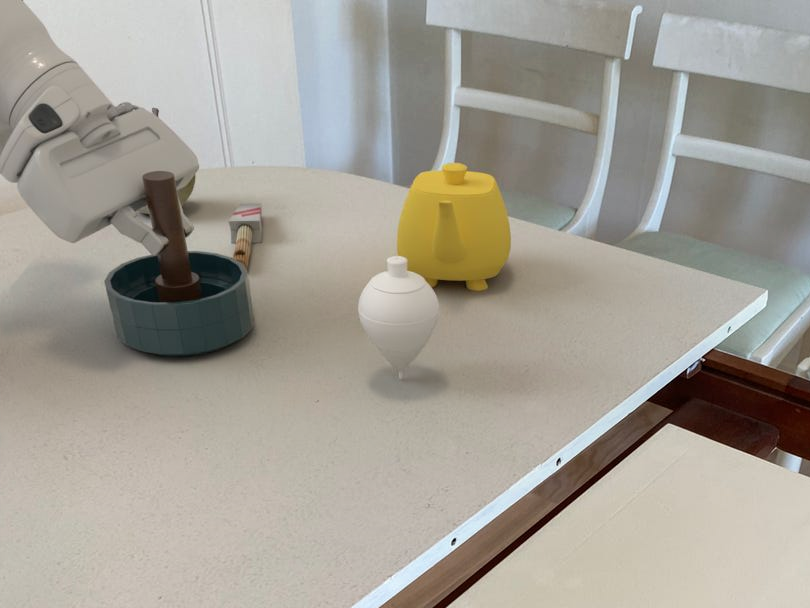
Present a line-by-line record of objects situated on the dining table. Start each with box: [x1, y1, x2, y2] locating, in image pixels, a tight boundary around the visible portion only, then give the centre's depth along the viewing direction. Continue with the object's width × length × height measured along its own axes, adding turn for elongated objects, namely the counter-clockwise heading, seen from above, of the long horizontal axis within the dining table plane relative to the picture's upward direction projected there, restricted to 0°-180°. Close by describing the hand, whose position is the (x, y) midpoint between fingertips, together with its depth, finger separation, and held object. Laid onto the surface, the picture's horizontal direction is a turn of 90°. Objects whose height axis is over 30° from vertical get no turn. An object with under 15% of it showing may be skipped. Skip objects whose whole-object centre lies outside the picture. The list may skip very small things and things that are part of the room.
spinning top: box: [357, 255, 440, 381], centre depth 93 cm, size 8×8×12 cm
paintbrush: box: [228, 202, 263, 271], centre depth 123 cm, size 4×3×20 cm
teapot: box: [396, 162, 512, 292], centre depth 113 cm, size 13×20×12 cm
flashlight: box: [142, 171, 203, 303], centre depth 98 cm, size 4×4×14 cm
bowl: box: [103, 250, 255, 357], centre depth 102 cm, size 14×14×6 cm
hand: (175, 242), depth 97 cm, fingers closed on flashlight, 3 cm apart
